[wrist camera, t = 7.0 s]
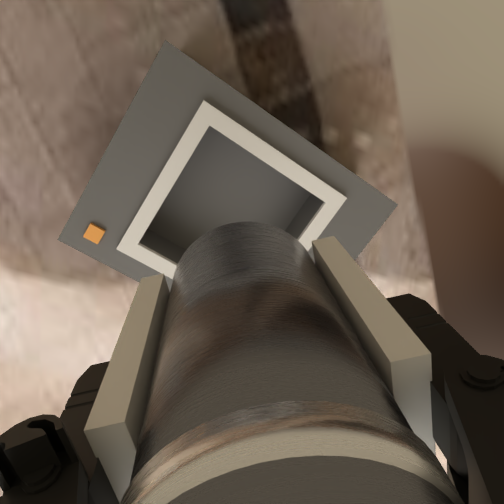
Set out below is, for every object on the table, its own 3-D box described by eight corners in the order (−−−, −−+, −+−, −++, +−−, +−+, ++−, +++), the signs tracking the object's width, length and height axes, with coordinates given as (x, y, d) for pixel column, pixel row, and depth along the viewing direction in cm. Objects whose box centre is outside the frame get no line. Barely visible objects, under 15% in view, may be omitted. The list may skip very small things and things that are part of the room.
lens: (140, 314, 14) (-5, 765, 5) (221, 187, 13) (247, 461, 3) (265, 377, 16) (347, 819, 6) (350, 268, 14) (622, 619, 5)
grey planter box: (93, 204, 28) (51, 245, 20) (177, 52, 25) (163, 37, 18) (266, 300, 31) (282, 363, 24) (355, 178, 29) (404, 208, 21)
